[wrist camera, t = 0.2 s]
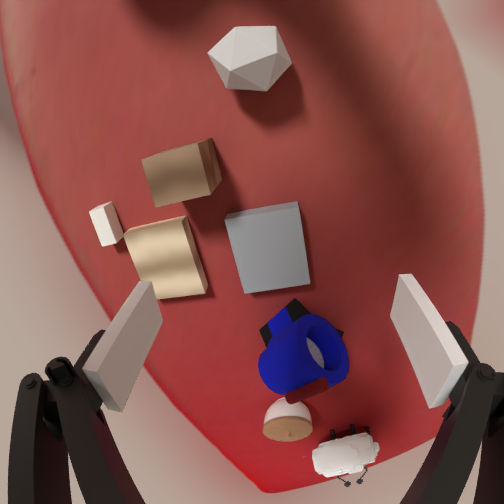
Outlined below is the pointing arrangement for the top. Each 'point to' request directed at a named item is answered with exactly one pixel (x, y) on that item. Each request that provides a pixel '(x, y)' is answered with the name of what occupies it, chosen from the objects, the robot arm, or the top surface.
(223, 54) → the die
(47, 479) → the robot arm
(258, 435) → the top surface
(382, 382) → the top surface
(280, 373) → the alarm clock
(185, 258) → the oak slab
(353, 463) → the robot
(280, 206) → the grey slab
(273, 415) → the lidded jar
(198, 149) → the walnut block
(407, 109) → the top surface
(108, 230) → the white brick
